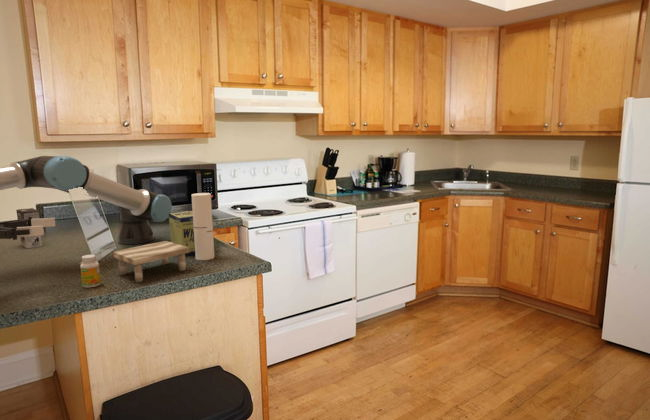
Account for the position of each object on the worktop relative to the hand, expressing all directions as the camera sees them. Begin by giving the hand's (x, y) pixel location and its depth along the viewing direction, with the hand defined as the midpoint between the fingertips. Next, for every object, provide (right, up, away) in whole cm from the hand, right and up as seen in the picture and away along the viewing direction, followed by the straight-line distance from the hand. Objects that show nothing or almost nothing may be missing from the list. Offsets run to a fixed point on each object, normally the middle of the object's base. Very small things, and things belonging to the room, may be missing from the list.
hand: (49, 225), depth 140 cm
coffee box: (-44, -11, +60) cm, 75 cm away
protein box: (+29, -12, +48) cm, 57 cm away
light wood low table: (+24, -17, +20) cm, 36 cm away
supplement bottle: (+10, -20, +7) cm, 23 cm away
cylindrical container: (+38, -14, +37) cm, 55 cm away
